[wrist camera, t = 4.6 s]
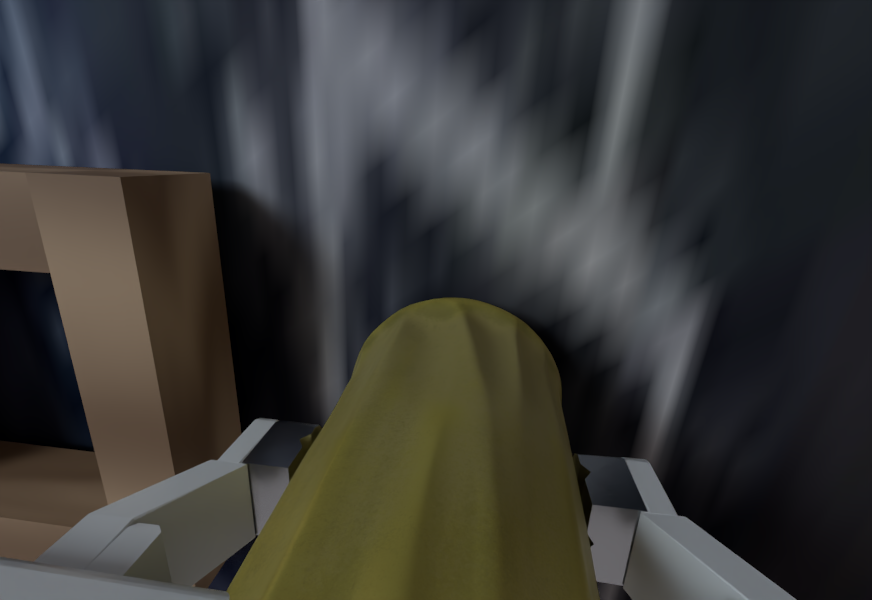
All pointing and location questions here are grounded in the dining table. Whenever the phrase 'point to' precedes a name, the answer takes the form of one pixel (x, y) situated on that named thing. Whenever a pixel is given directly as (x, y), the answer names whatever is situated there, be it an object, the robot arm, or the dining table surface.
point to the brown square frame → (119, 338)
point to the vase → (434, 474)
